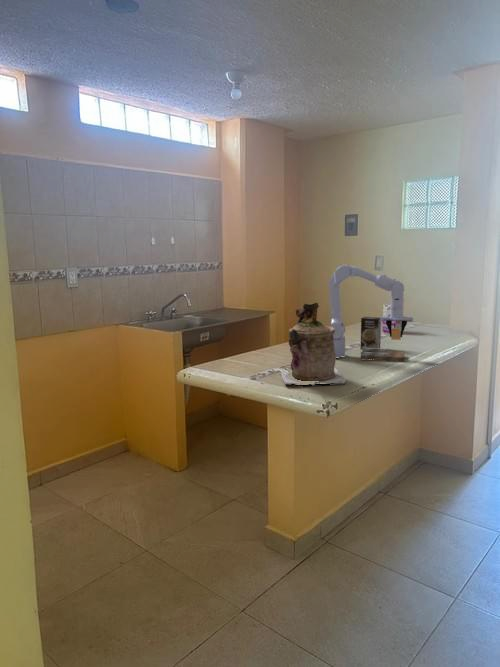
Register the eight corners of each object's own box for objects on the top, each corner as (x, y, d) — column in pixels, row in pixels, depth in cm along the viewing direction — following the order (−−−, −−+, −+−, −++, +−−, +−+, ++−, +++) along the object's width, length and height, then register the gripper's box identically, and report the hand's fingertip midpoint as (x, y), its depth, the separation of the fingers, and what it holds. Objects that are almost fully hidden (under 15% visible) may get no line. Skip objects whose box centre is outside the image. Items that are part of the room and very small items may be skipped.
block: (391, 339, 228) (391, 329, 227) (391, 337, 231) (391, 328, 230) (400, 339, 226) (400, 330, 226) (400, 338, 230) (400, 328, 229)
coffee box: (360, 349, 252) (360, 318, 249) (363, 346, 257) (363, 316, 254) (378, 350, 247) (378, 319, 244) (381, 348, 253) (381, 317, 250)
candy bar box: (401, 333, 288) (402, 305, 285) (394, 334, 286) (395, 306, 283) (388, 330, 298) (389, 303, 295) (382, 331, 296) (382, 304, 293)
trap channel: (360, 359, 230) (360, 352, 229) (362, 354, 240) (362, 347, 240) (404, 361, 224) (404, 354, 224) (404, 356, 235) (404, 349, 234)
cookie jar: (335, 369, 215) (335, 296, 209) (348, 385, 191) (348, 304, 185) (278, 371, 215) (277, 298, 209) (284, 388, 191) (283, 306, 185)
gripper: (380, 308, 224) (379, 338, 227) (413, 309, 220) (412, 339, 223) (380, 306, 231) (380, 335, 234) (413, 307, 227) (412, 336, 229)
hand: (396, 336), depth 229 cm, fingers closed on block, 4 cm apart
